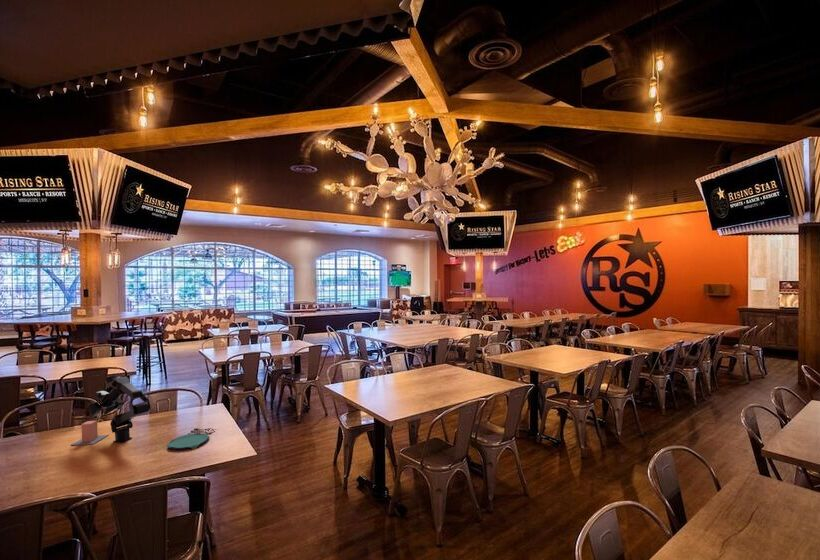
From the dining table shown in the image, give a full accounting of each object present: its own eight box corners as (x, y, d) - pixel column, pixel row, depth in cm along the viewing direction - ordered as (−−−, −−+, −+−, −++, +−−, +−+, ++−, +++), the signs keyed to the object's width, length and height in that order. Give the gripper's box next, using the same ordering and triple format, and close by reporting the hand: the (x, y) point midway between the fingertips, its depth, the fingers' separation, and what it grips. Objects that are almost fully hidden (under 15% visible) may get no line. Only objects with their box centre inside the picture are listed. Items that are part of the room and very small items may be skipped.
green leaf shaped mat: (159, 451, 208) (159, 447, 208) (191, 430, 238) (191, 426, 238) (196, 451, 207) (196, 447, 207) (224, 430, 237) (224, 426, 237)
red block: (97, 437, 227) (97, 420, 227) (91, 441, 222) (90, 423, 222) (88, 438, 227) (88, 421, 227) (82, 441, 222) (81, 424, 222)
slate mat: (108, 435, 231) (108, 435, 231) (93, 444, 219) (93, 443, 219) (86, 436, 230) (86, 436, 230) (70, 445, 218) (70, 444, 218)
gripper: (119, 383, 236) (102, 403, 236) (90, 388, 218) (72, 410, 218) (131, 395, 234) (114, 416, 234) (103, 402, 216) (85, 424, 216)
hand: (97, 416), depth 226 cm, fingers open, 9 cm apart
